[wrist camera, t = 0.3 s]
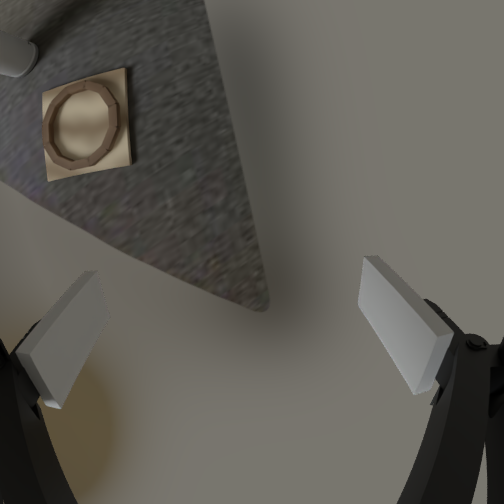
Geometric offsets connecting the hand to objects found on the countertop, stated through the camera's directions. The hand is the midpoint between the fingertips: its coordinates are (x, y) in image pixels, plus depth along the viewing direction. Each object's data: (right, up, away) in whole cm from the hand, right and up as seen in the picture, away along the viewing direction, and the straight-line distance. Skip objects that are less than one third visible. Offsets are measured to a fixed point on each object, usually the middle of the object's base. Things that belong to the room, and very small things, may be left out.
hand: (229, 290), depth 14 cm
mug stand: (-23, +20, +21) cm, 36 cm away
